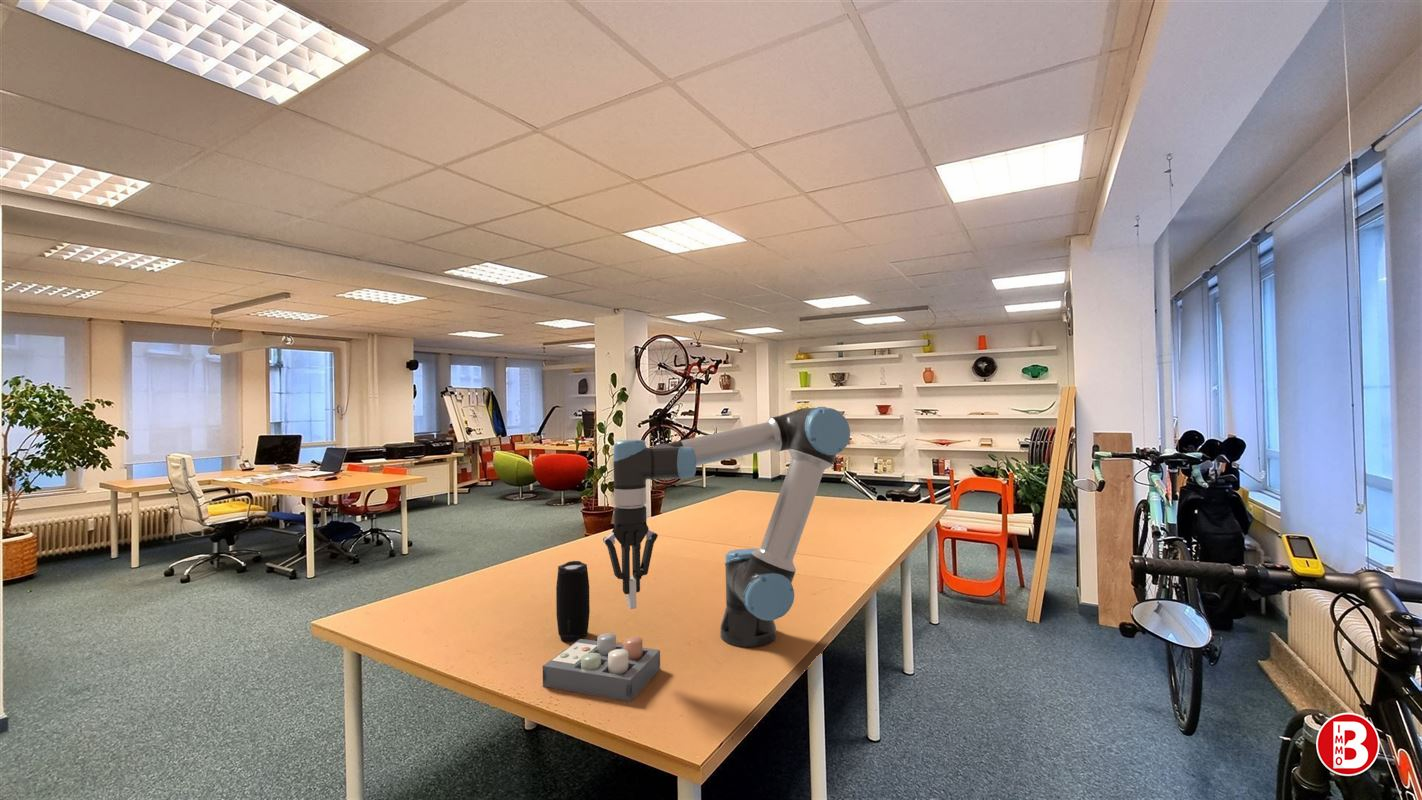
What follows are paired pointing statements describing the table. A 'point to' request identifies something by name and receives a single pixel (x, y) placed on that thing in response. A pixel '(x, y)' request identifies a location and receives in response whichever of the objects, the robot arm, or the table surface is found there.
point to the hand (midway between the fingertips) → (631, 606)
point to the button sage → (591, 661)
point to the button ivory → (618, 662)
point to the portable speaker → (572, 600)
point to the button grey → (606, 643)
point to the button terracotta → (634, 648)
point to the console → (599, 672)
